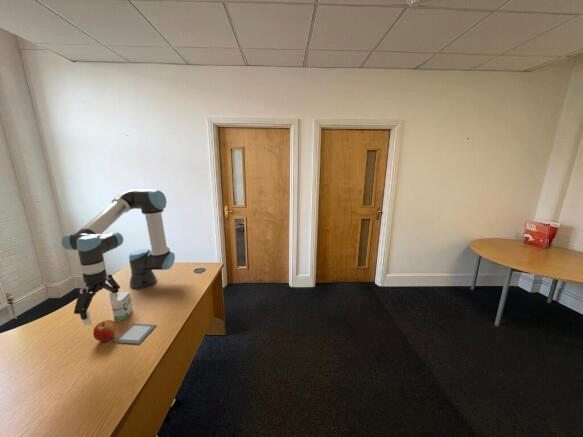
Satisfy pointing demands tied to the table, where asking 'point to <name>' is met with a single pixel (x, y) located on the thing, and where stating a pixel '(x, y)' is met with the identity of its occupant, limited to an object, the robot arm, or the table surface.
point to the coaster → (135, 334)
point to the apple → (105, 330)
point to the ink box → (122, 306)
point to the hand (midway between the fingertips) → (102, 314)
